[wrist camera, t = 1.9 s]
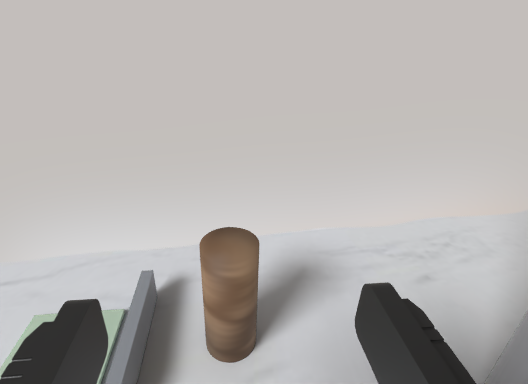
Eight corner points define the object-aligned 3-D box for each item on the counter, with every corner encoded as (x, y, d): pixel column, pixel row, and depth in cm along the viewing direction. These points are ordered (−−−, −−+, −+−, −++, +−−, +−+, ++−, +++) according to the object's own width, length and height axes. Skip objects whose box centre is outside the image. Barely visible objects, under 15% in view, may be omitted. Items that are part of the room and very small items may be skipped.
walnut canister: (253, 317, 34) (256, 226, 29) (258, 360, 30) (262, 261, 24) (207, 321, 34) (201, 228, 28) (205, 364, 29) (197, 264, 24)
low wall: (157, 296, 36) (153, 270, 35) (128, 418, 25) (119, 388, 23) (146, 297, 36) (141, 270, 34) (112, 420, 25) (102, 390, 23)
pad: (124, 312, 34) (124, 309, 34) (96, 397, 26) (94, 393, 26) (36, 318, 33) (34, 315, 33) (-22, 409, 25) (-24, 405, 25)
